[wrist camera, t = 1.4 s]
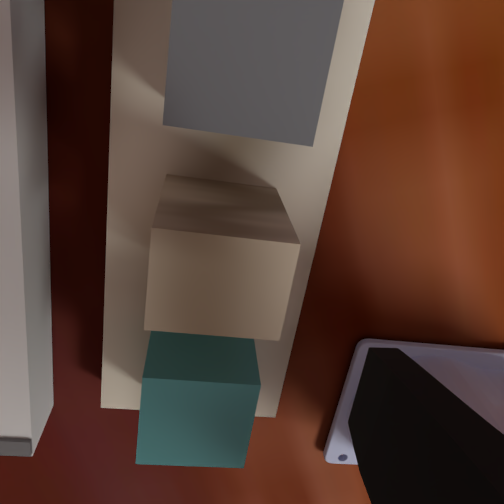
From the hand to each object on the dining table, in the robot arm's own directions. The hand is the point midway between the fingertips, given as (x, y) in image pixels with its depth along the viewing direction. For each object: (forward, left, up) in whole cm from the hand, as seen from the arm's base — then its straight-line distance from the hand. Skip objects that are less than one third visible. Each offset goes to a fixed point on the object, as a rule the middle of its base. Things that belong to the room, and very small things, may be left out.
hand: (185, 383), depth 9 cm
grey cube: (-1, -6, -9) cm, 11 cm away
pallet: (-1, 0, -11) cm, 11 cm away
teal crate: (-1, +6, -9) cm, 11 cm away
